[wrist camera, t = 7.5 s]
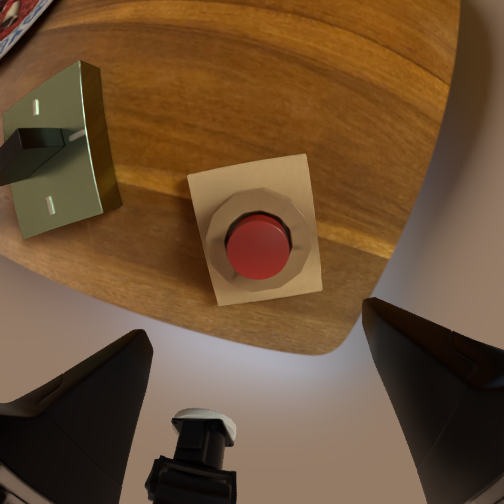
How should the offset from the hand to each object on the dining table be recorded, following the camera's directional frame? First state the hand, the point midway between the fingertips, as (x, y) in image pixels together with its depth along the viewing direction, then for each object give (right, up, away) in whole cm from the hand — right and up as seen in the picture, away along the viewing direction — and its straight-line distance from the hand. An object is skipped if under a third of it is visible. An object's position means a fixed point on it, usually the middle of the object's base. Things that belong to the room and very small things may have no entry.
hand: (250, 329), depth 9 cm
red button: (0, +3, +9) cm, 9 cm away
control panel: (-16, +11, +9) cm, 22 cm away
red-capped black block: (-16, +10, +7) cm, 20 cm away
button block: (+1, +4, +11) cm, 12 cm away
